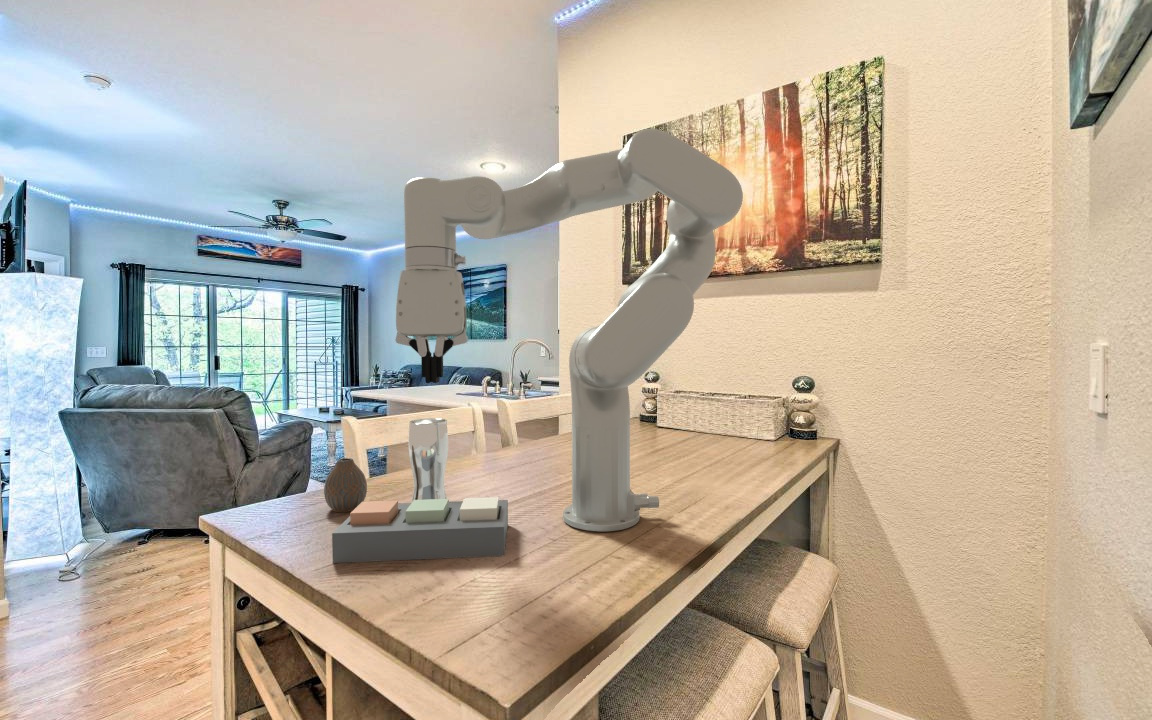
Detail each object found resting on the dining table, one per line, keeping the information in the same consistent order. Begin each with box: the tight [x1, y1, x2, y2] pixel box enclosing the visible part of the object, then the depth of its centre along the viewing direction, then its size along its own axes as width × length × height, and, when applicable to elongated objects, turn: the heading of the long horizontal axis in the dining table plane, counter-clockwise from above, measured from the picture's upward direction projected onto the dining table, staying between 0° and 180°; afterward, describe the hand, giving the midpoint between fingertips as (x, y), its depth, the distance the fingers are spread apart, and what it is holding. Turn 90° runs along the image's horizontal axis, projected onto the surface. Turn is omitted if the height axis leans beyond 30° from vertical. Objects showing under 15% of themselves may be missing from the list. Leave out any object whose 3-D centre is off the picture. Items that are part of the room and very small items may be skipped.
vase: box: [323, 457, 368, 513], centre depth 90 cm, size 7×7×9 cm
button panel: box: [331, 499, 509, 564], centre depth 74 cm, size 23×12×4 cm, turn 95°
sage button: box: [405, 498, 450, 523], centre depth 74 cm, size 5×5×4 cm
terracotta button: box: [349, 500, 399, 525], centre depth 74 cm, size 5×5×4 cm
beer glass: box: [408, 417, 449, 503], centre depth 93 cm, size 7×7×15 cm
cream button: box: [460, 496, 500, 521], centre depth 75 cm, size 5×5×4 cm
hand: (432, 382), depth 79 cm, fingers closed
